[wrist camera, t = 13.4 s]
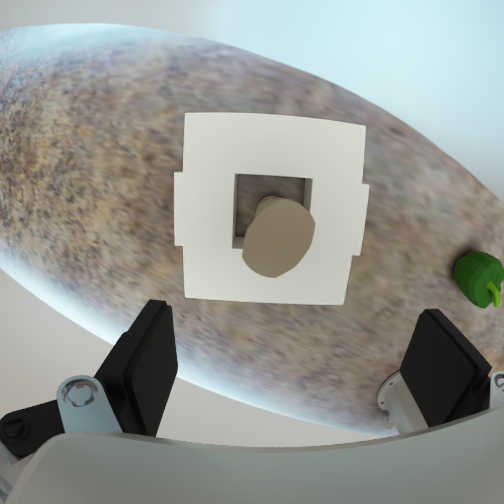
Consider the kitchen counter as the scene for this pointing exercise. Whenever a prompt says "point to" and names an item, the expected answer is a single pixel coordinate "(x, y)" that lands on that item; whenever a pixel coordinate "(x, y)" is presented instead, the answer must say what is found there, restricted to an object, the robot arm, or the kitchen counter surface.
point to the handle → (277, 236)
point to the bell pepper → (479, 278)
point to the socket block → (277, 164)
